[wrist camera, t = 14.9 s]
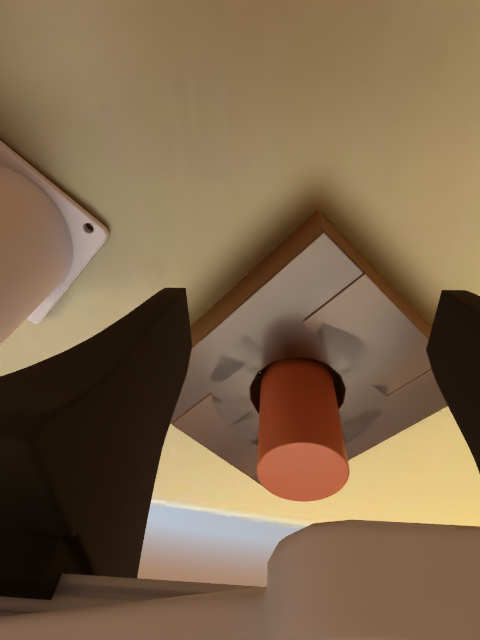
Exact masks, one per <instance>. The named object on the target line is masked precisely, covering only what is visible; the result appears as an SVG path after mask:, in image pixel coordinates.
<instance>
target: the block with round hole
mask: <svg viewBox="0 0 480 640" xmlns="http://www.w3.org/2000/svg"><path fill="white" fill-rule="evenodd" d="M431 329H432V328H431V327H429V325H428V324H427V323H426V322H425V321H424V320H423V319H422V318H421V317H420V316H419V315H418V314H417V313H416V312H415V311H414V309H413V308H412V307H411V306H410V305H409V304H408V303H407V302H406V301H405V300H404V299H403V298H402V297H401V296H400V295H399V294H398V293H397V292H396V291H395V290H394V289H393V287H392V286H391V285H390V284H389V283H388V282H387V281H386V280H385V279H384V278H383V277H382V276H381V275H380V274H379V273H378V272H377V271H376V270H375V269H374V268H373V266H372V265H371V264H370V263H369V262H368V261H367V260H366V259H365V258H364V257H363V256H362V255H361V254H360V253H359V252H358V251H357V250H356V249H355V248H354V247H353V246H352V245H351V244H350V242H349V241H348V240H347V239H346V238H345V237H344V236H343V235H342V234H341V233H340V232H339V231H338V230H337V229H336V228H335V227H334V226H333V225H332V224H331V223H330V221H329V220H328V219H327V218H326V217H325V216H324V215H323V214H322V213H321V212H320V211H319V210H317V211H316V212H315V213H314V214H313V215H312V216H310V217H309V218H308V219H307V220H306V221H305V222H304V223H303V224H302V225H301V226H300V227H299V228H297V229H296V230H295V231H294V232H293V233H292V234H291V235H290V236H289V237H288V238H287V239H285V240H284V241H283V242H282V243H281V244H280V245H279V246H278V247H277V248H276V249H275V250H274V251H272V252H271V253H270V254H269V255H268V256H267V257H266V258H265V259H264V260H263V261H262V262H260V263H259V264H258V265H257V266H256V267H255V268H254V269H253V270H252V271H251V272H250V273H249V274H247V275H246V276H245V277H244V278H243V279H242V280H241V281H240V282H239V283H238V284H237V285H236V286H234V287H233V288H232V289H231V290H230V291H229V292H228V293H227V294H226V295H225V296H224V297H222V298H221V299H220V300H219V301H218V302H217V303H216V304H215V305H214V306H213V307H212V308H211V309H209V310H208V311H207V312H206V313H205V314H204V315H203V316H202V317H201V318H200V319H199V320H197V321H196V322H195V323H194V324H193V325H192V326H191V327H190V331H191V339H192V349H191V355H190V361H189V366H188V371H187V375H186V378H185V381H184V384H183V387H182V390H181V393H180V396H179V399H178V402H177V404H176V407H175V410H174V413H173V416H172V419H171V422H170V424H172V425H173V426H175V427H176V428H178V429H179V430H181V431H182V432H184V433H185V434H187V435H188V436H190V437H191V438H192V439H194V440H195V441H197V442H198V443H200V444H201V445H203V446H204V447H206V448H207V449H209V450H210V451H212V452H213V453H215V454H216V455H218V456H219V457H221V458H222V459H224V460H225V461H227V462H228V463H230V464H231V465H233V466H234V467H236V468H237V469H239V470H240V471H241V472H243V473H244V474H246V475H247V476H249V477H251V478H252V479H253V480H255V481H256V482H258V483H259V484H261V483H260V481H259V479H258V476H257V451H258V431H259V410H260V389H261V379H260V378H259V376H258V374H257V373H258V372H259V371H261V370H262V369H263V368H265V367H266V366H267V365H269V364H270V363H271V362H275V361H278V360H281V359H284V358H288V357H305V358H312V359H314V360H317V361H320V362H323V363H326V364H328V365H329V366H330V367H331V368H332V369H333V370H335V371H334V373H333V374H332V377H333V382H334V388H335V393H336V399H337V405H338V410H339V416H340V421H341V427H342V432H343V438H344V443H345V449H346V454H347V460H350V459H352V458H353V457H355V456H357V455H359V454H361V453H363V452H364V451H366V450H368V449H370V448H372V447H374V446H375V445H377V444H379V443H381V442H383V441H385V440H386V439H388V438H390V437H392V436H394V435H396V434H397V433H399V432H401V431H403V430H405V429H407V428H408V427H410V426H412V425H414V424H416V423H418V422H419V421H421V420H423V419H425V418H427V417H428V416H430V415H432V414H434V413H436V412H438V411H439V410H441V409H443V408H445V407H447V406H448V405H447V403H446V401H445V399H444V397H443V395H442V393H441V391H440V389H439V387H438V384H437V382H436V380H435V378H434V375H433V372H432V369H431V366H430V362H429V359H428V355H427V352H426V348H427V344H428V341H429V337H430V333H431ZM261 485H262V484H261ZM262 486H263V485H262Z"/></svg>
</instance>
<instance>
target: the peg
mask: <svg viewBox="0 0 480 640" xmlns="http://www.w3.org/2000/svg"><path fill="white" fill-rule="evenodd" d="M257 476H258V479H259V481H260V483H261V484H262V485H263V487H264V488H266V489H267V490H268V491H269V492H271V493H272V494H274V495H276V496H278V497H281V498H284V499H288V500H293V501H314V500H319V499H323V498H326V497H329V496H331V495H333V494H335V493H336V492H338V491H339V490H340V489H341V488H342V487H343V486H344V485H345V484H346V482H347V480H348V477H349V465H348V460H347V454H346V449H345V443H344V438H343V432H342V427H341V421H340V416H339V410H338V405H337V399H336V393H335V388H334V382H333V377H332V371H331V367H330V366H329V365H328V364H326V363H323V362H320V361H317V360H314V359H312V358H305V357H288V358H284V359H281V360H278V361H275V362H271V363H270V364H269V365H267V366H266V367H265V368H263V369H262V370H261V389H260V410H259V431H258V451H257Z"/></svg>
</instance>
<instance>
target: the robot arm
mask: <svg viewBox="0 0 480 640" xmlns="http://www.w3.org/2000/svg"><path fill="white" fill-rule="evenodd" d="M86 223H89V224H91V225H92V226H93V229H94V230H93V231H91V230H89V229H88V228H87V226H86ZM108 237H109V232H108V229H107V228H106V227H105V226H104V225H103V224H102V223H100V222H99V221H98V220H97V219H96V218H94V217H93V216H92V215H91V214H90V213H88V212H87V211H86V210H85V209H83V208H82V207H81V206H80V205H79V204H77V203H76V202H75V201H74V200H72V199H71V198H70V197H69V196H68V195H66V194H65V193H64V192H63V191H61V190H60V189H59V188H58V187H57V186H55V185H54V184H53V183H52V182H50V181H49V180H48V179H47V178H46V177H44V176H43V175H42V174H41V173H40V172H38V171H37V170H36V169H35V168H33V167H32V166H31V165H30V164H29V163H27V162H26V161H25V160H24V159H22V158H21V157H20V156H19V155H18V154H16V153H15V152H14V151H13V150H11V149H10V148H9V147H8V146H7V145H5V144H4V143H3V142H2V141H0V345H1V344H2V343H3V342H4V341H5V340H6V339H7V338H8V337H9V336H10V335H11V334H12V333H13V332H14V331H15V330H16V329H17V328H18V327H19V325H20V324H21V323H22V322H23V321H24V320H25V319H26V320H27V321H29V322H30V323H32V324H39V323H40V322H41V321H42V320H43V319H44V318H45V317H46V315H47V314H48V313H49V312H50V310H51V309H52V308H53V307H54V305H55V304H56V303H57V302H58V300H59V299H60V298H61V297H62V295H63V294H64V293H65V292H66V290H67V289H68V288H69V287H70V285H71V284H72V283H73V282H74V280H75V279H76V278H77V277H78V275H79V274H80V273H81V272H82V270H83V269H84V268H85V267H86V265H87V264H88V263H89V262H90V260H91V259H92V258H93V257H94V255H95V254H96V253H97V252H98V250H99V249H100V248H101V247H102V245H103V244H104V243H105V242H106V240H107V239H108ZM191 349H192V339H191V331H190V322H189V313H188V305H187V296H186V288H164V289H162V290H161V291H159V292H158V293H156V294H155V295H153V296H152V297H151V298H149V299H148V300H147V301H145V302H144V303H143V304H141V305H140V306H138V307H137V308H136V309H134V310H133V311H131V312H130V313H129V314H127V315H126V316H124V317H123V318H121V319H120V320H118V321H117V322H115V323H114V324H112V325H111V326H109V327H107V328H106V329H104V330H103V331H101V332H100V333H98V334H96V335H95V336H93V337H91V338H89V339H88V340H86V341H84V342H82V343H80V344H78V345H76V346H74V347H72V348H70V349H68V350H66V351H64V352H62V353H60V354H58V355H55V356H53V357H50V358H48V359H46V360H43V361H41V362H39V363H36V364H34V365H32V366H29V367H27V368H24V369H21V370H18V371H16V372H13V373H10V374H7V375H4V376H1V377H0V640H480V527H477V526H459V525H440V524H421V523H403V522H384V521H365V520H345V521H335V522H324V523H314V524H311V525H309V526H307V527H305V528H303V529H301V530H299V531H297V532H295V533H293V534H291V535H289V536H287V537H285V538H284V539H282V540H281V541H280V542H279V543H278V545H277V546H276V548H275V550H274V552H273V554H272V556H271V558H270V559H269V561H268V572H267V575H268V576H267V587H255V586H241V585H225V584H211V583H196V582H182V581H166V580H152V579H138V578H137V574H138V569H139V563H140V557H141V551H142V545H143V540H144V534H145V528H146V524H147V518H148V513H149V508H150V503H151V498H152V493H153V488H154V483H155V478H156V474H157V469H158V465H159V460H160V456H161V451H162V447H163V444H164V440H165V437H166V433H167V431H168V428H169V425H170V422H171V419H172V416H173V413H174V410H175V407H176V404H177V402H178V399H179V396H180V393H181V390H182V387H183V384H184V381H185V378H186V375H187V371H188V366H189V361H190V355H191ZM426 352H427V355H428V359H429V362H430V366H431V369H432V372H433V375H434V378H435V380H436V382H437V384H438V387H439V389H440V391H441V393H442V395H443V397H444V399H445V401H446V403H447V405H448V407H449V409H450V411H451V413H452V415H453V416H454V418H455V420H456V422H457V424H458V426H459V428H460V430H461V432H462V434H463V436H464V438H465V440H466V442H467V444H468V446H469V448H470V451H471V453H472V455H473V457H474V459H475V462H476V464H477V467H478V470H479V473H480V296H478V295H476V294H473V293H471V292H468V291H465V290H442V292H441V296H440V300H439V303H438V307H437V311H436V314H435V318H434V322H433V326H432V329H431V333H430V337H429V341H428V344H427V348H426Z"/></svg>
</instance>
